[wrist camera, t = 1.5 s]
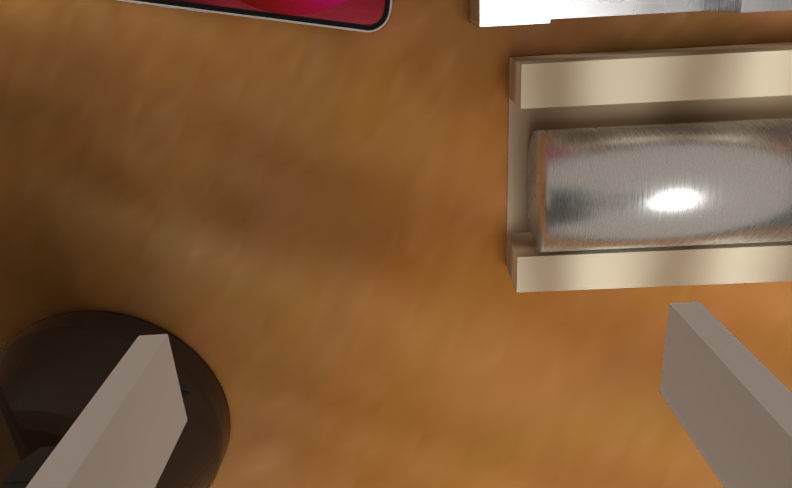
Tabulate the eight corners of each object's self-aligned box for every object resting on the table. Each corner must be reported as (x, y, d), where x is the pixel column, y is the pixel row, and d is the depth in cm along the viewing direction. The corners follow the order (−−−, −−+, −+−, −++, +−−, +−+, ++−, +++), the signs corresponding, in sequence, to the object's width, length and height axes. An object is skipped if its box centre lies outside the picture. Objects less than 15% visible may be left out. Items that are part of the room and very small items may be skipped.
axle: (523, 216, 35) (545, 275, 30) (529, 113, 32) (554, 159, 27) (776, 205, 35) (843, 263, 29) (807, 99, 31) (888, 143, 26)
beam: (505, 262, 36) (516, 292, 32) (508, 56, 32) (521, 64, 28) (785, 249, 36) (829, 279, 32) (826, 39, 31) (882, 45, 28)
